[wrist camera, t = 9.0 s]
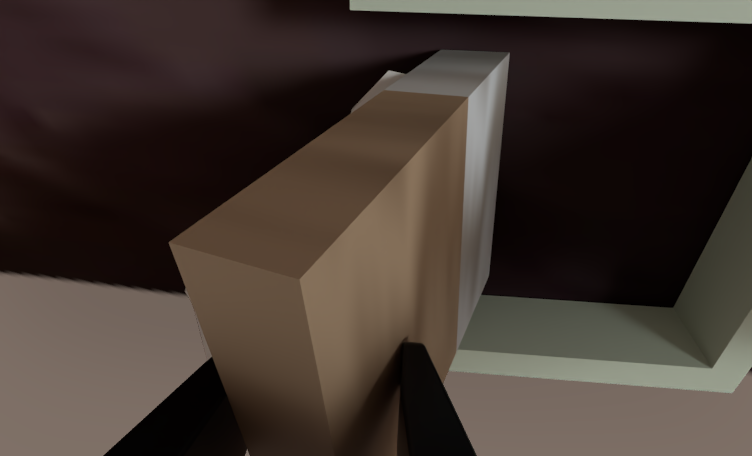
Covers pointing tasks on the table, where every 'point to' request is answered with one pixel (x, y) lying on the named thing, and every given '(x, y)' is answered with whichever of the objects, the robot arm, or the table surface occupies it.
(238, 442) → the robot arm
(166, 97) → the table surface
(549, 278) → the table surface
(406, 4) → the green c-shaped bracket
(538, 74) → the table surface
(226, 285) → the two-tone wooden slab
